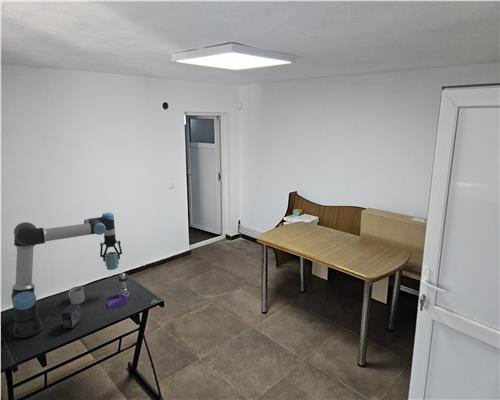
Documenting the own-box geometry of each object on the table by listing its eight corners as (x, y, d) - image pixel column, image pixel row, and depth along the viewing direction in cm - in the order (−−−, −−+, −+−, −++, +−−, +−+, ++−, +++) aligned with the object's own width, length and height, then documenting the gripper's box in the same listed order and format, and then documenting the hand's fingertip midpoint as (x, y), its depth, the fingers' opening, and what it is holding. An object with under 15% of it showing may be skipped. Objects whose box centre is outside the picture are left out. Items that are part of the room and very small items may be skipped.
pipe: (120, 296, 248) (119, 275, 245) (120, 293, 252) (119, 273, 249) (127, 295, 250) (126, 274, 247) (127, 292, 254) (125, 272, 251)
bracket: (124, 300, 245) (123, 291, 244) (126, 304, 240) (126, 295, 238) (106, 304, 239) (106, 295, 238) (108, 308, 234) (107, 299, 232)
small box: (71, 318, 220) (70, 303, 218) (81, 319, 220) (80, 304, 218) (62, 327, 210) (60, 312, 208) (72, 328, 209) (71, 312, 207)
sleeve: (107, 270, 242) (105, 256, 240) (106, 266, 249) (105, 252, 246) (118, 268, 245) (117, 254, 243) (117, 265, 252) (116, 251, 250)
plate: (118, 299, 246) (118, 297, 246) (118, 294, 253) (117, 293, 253) (130, 297, 249) (130, 295, 249) (129, 292, 256) (129, 291, 256)
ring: (119, 282, 245) (118, 279, 244) (118, 279, 250) (118, 276, 250) (127, 281, 247) (127, 278, 247) (127, 277, 253) (126, 275, 252)
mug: (85, 302, 241) (84, 289, 239) (70, 306, 235) (69, 293, 234) (83, 296, 250) (81, 284, 248) (68, 300, 244) (67, 287, 242)
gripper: (94, 237, 234) (97, 268, 239) (125, 233, 243) (127, 263, 247) (93, 234, 241) (96, 265, 245) (124, 231, 249) (126, 260, 254)
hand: (112, 264), depth 246 cm, fingers closed on sleeve, 7 cm apart
